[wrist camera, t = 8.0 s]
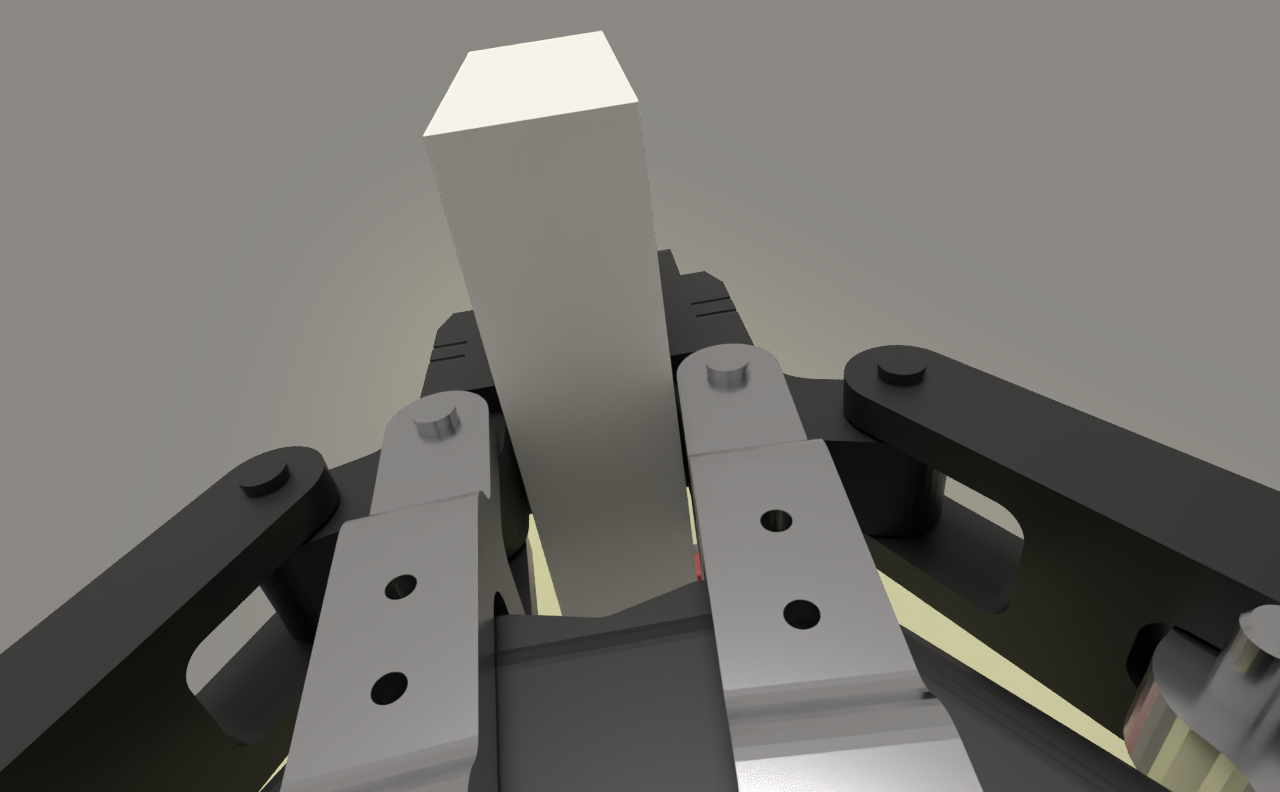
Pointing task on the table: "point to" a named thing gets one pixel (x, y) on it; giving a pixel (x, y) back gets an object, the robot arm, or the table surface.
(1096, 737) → the table surface
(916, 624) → the table surface
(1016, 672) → the table surface
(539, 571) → the table surface
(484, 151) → the white tall block
